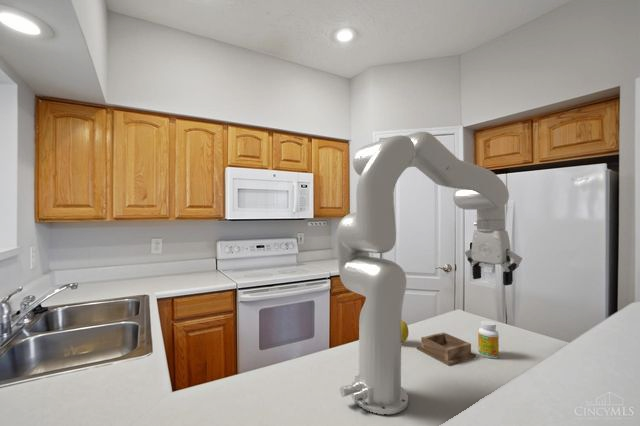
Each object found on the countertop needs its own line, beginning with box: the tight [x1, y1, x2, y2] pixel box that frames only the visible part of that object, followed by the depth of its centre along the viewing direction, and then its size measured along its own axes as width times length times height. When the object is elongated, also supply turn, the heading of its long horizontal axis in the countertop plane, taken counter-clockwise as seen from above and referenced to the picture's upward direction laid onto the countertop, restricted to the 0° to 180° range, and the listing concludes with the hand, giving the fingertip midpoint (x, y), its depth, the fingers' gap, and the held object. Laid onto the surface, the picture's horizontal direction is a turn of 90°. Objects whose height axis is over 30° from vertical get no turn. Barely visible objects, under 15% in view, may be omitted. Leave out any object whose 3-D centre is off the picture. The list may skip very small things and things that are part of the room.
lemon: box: [401, 319, 409, 344], centre depth 97 cm, size 6×6×8 cm
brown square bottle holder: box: [416, 331, 477, 367], centre depth 91 cm, size 12×12×4 cm
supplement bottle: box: [477, 320, 500, 359], centre depth 90 cm, size 5×5×10 cm
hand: (491, 281), depth 90 cm, fingers open, 9 cm apart
